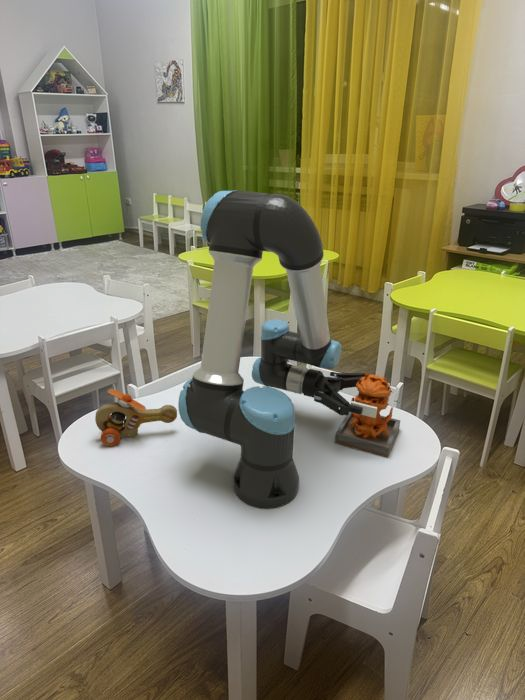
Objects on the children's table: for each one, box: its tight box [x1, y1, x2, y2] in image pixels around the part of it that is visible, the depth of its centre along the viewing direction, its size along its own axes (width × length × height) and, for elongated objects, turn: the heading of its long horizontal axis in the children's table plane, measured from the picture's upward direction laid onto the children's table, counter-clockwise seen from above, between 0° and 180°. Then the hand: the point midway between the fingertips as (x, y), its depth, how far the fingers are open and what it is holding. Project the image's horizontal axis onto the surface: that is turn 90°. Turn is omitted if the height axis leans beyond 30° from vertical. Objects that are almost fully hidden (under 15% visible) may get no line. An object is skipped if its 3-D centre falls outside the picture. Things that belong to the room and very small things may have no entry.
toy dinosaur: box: [350, 372, 394, 439], centre depth 125 cm, size 11×11×18 cm
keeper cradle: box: [334, 412, 401, 459], centre depth 128 cm, size 14×14×3 cm
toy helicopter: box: [94, 388, 178, 448], centre depth 125 cm, size 8×21×14 cm, turn 102°
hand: (383, 400), depth 123 cm, fingers open, 13 cm apart
